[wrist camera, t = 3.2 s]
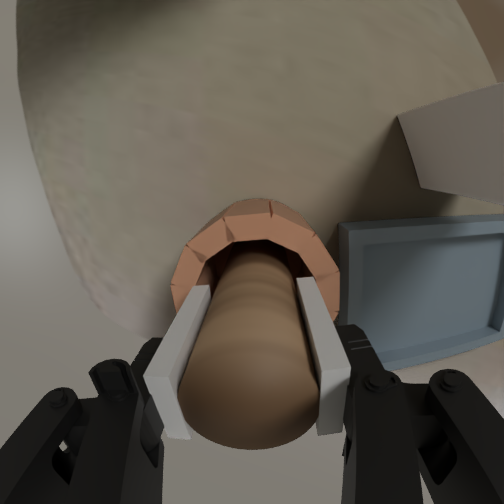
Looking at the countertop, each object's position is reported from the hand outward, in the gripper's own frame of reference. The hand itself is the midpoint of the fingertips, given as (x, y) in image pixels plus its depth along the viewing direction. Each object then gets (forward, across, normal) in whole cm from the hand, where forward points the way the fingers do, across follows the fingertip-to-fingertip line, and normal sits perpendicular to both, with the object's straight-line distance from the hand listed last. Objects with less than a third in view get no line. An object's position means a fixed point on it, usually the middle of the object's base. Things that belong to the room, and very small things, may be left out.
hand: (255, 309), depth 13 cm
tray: (+9, +15, -4) cm, 18 cm away
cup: (+9, 0, 0) cm, 9 cm away
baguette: (+8, 0, 0) cm, 8 cm away
